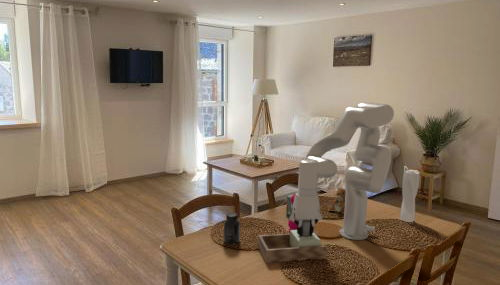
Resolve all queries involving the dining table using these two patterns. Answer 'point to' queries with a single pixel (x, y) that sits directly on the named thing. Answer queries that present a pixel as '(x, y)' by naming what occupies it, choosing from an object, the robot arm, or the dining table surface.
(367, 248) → the dining table surface
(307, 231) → the base with upright peg
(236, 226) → the supplement bottle
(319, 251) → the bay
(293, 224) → the pepper mill
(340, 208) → the stuffed squirrel
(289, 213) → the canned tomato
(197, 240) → the dining table surface
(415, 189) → the skyscraper
